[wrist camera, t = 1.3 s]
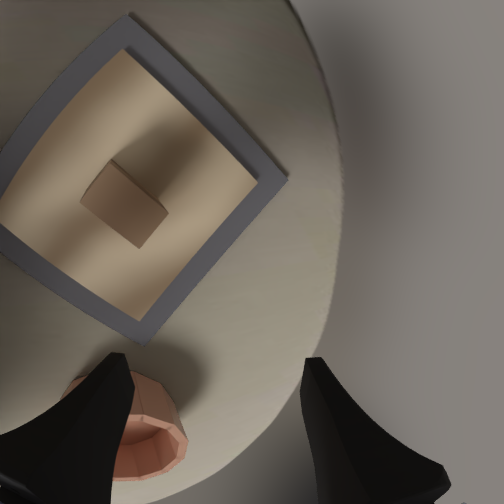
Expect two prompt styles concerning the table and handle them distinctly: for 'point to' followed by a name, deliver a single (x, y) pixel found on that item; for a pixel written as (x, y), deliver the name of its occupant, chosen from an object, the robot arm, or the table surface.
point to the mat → (203, 109)
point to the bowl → (148, 433)
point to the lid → (123, 188)
